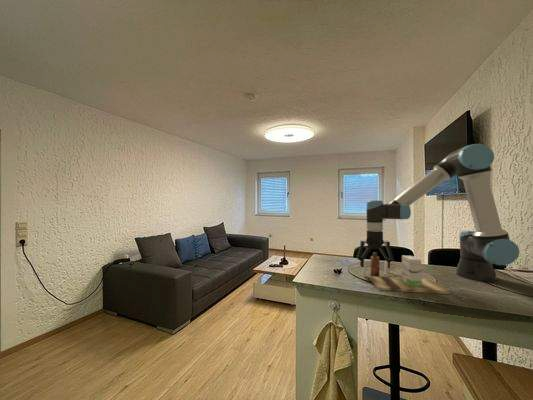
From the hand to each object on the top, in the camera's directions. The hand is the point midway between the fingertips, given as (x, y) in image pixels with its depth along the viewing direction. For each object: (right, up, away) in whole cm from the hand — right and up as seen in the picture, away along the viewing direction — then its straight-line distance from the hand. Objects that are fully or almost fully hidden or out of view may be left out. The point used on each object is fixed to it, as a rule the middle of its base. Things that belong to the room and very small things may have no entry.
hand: (375, 273), depth 116 cm
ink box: (+10, 0, -13) cm, 17 cm away
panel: (+8, -1, -13) cm, 15 cm away
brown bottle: (0, -1, 0) cm, 1 cm away
